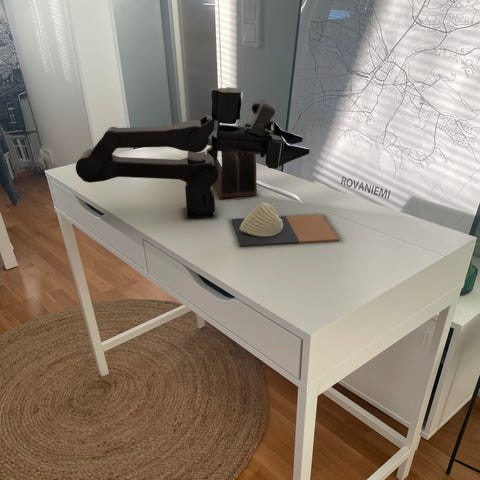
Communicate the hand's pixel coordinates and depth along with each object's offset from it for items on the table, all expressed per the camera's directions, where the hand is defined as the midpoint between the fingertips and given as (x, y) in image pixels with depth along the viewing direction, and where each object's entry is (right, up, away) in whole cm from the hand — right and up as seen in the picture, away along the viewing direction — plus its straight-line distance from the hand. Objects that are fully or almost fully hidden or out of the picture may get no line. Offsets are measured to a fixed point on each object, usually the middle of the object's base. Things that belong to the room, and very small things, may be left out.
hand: (305, 145), depth 112 cm
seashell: (-10, -20, -1) cm, 22 cm away
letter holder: (-18, -3, +25) cm, 31 cm away
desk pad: (-5, -20, 0) cm, 20 cm away
